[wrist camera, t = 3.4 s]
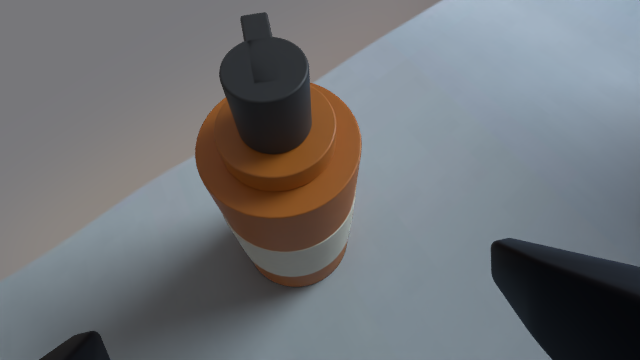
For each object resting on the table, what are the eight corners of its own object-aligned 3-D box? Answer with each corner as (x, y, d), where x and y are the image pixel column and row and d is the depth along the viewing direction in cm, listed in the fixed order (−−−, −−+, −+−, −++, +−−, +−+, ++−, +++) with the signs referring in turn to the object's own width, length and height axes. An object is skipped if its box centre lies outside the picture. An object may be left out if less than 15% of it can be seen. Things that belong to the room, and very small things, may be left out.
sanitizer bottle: (359, 275, 21) (404, 136, 9) (254, 298, 20) (152, 184, 8) (335, 183, 24) (344, -18, 12) (241, 201, 23) (150, 11, 11)
